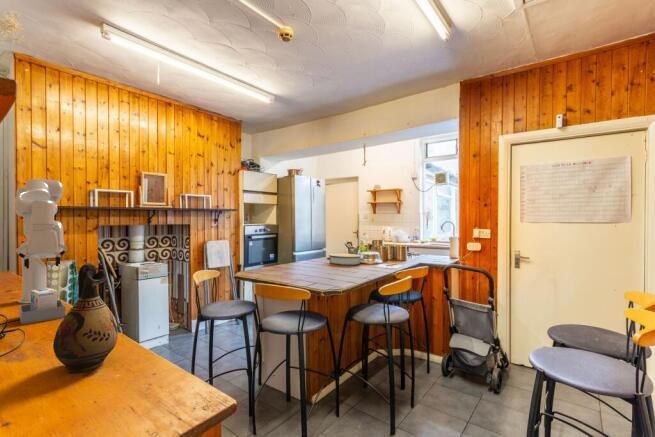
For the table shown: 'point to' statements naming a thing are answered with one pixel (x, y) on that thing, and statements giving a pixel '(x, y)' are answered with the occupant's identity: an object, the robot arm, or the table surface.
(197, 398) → the table surface
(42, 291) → the light bulb box
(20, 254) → the robot arm
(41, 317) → the tray
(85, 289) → the ceramic jug
